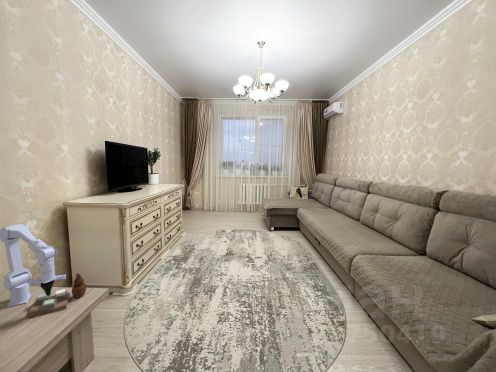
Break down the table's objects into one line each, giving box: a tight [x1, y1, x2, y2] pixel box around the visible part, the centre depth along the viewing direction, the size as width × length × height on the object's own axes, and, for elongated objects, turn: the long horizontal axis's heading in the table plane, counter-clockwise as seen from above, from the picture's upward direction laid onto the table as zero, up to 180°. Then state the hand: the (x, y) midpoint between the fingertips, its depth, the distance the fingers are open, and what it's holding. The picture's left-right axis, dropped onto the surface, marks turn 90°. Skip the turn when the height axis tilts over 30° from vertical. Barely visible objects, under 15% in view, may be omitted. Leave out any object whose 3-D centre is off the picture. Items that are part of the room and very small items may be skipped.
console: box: [27, 289, 71, 319], centre depth 121 cm, size 14×15×4 cm
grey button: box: [36, 293, 49, 301], centre depth 122 cm, size 4×4×2 cm
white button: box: [54, 288, 67, 297], centre depth 126 cm, size 4×4×2 cm
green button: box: [43, 299, 55, 306], centre depth 118 cm, size 4×4×2 cm
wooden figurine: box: [71, 273, 87, 299], centre depth 130 cm, size 7×6×15 cm
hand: (48, 294), depth 118 cm, fingers closed
